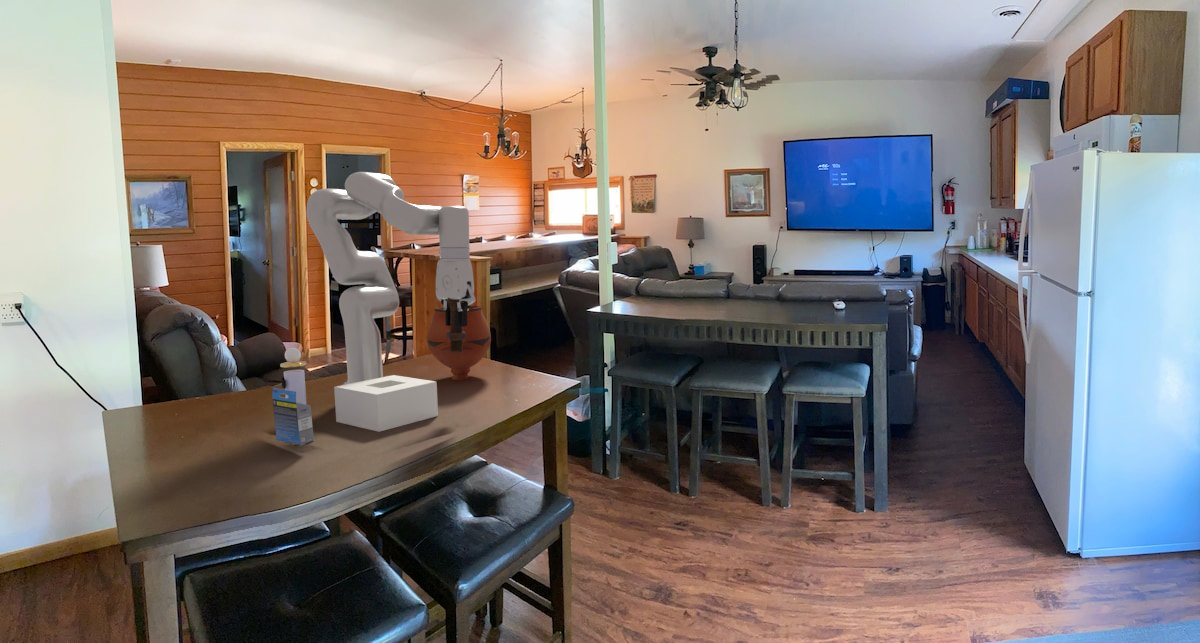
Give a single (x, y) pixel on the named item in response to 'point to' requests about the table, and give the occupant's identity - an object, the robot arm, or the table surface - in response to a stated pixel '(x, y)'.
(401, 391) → the hitch block
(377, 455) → the table surface
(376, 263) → the robot arm
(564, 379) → the table surface
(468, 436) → the table surface
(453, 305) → the bolt
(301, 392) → the perfume bottle
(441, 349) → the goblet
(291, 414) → the label tape box
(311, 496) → the table surface
